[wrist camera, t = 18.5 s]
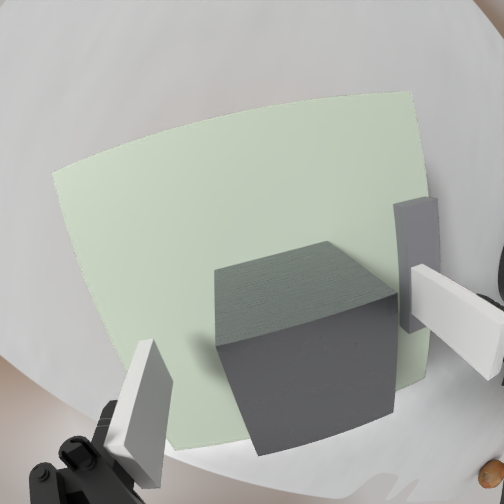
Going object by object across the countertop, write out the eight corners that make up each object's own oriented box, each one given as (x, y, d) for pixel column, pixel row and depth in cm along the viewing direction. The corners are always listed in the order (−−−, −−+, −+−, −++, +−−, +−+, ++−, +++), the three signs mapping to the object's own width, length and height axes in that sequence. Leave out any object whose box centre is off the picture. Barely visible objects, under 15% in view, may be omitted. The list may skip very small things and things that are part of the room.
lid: (397, 95, 16) (422, 88, 13) (415, 367, 22) (432, 386, 19) (63, 171, 15) (40, 173, 12) (175, 436, 21) (174, 462, 18)
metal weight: (327, 240, 16) (397, 292, 9) (339, 335, 18) (393, 412, 11) (214, 269, 16) (215, 346, 9) (242, 363, 17) (258, 456, 11)
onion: (485, 469, 58) (498, 487, 48) (468, 479, 56) (481, 498, 47) (501, 450, 55) (515, 468, 46) (484, 460, 54) (500, 479, 44)
